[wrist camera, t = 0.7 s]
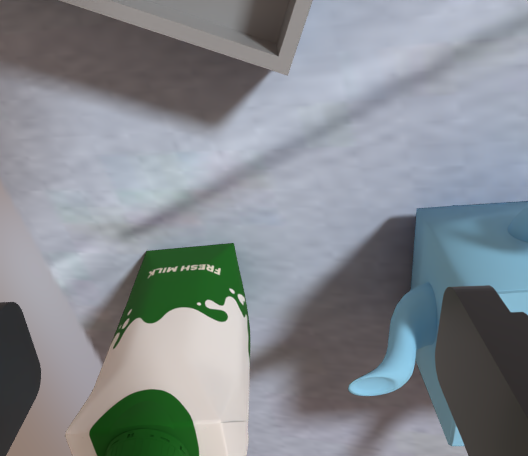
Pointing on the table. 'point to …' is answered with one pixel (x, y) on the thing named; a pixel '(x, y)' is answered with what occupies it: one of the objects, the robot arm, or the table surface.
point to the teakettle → (450, 275)
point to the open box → (219, 25)
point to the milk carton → (174, 363)
